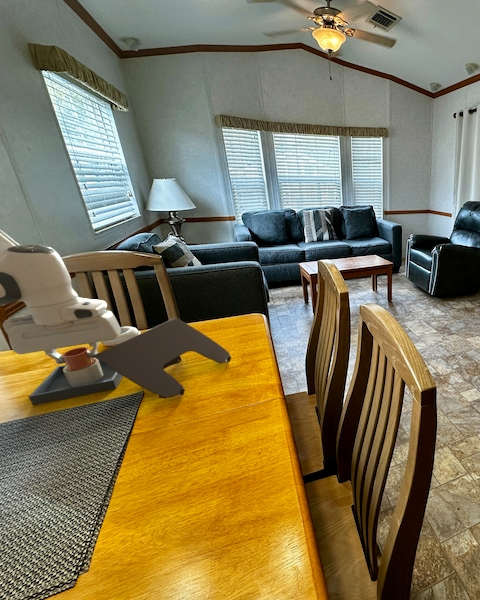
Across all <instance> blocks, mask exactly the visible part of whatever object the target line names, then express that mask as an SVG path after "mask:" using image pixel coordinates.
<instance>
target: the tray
mask: <svg viewBox="0 0 480 600" xmlns="http://www.w3.org/2000/svg"><path fill="white" fill-rule="evenodd" d="M98 361H99V360H98ZM99 363H100V366H101V368H102V371H103V373H104V375H103V377H102V378H101V379H99V380H97V381H96V382H94V383H91V384H86V385H81V386H76V387H72V386H70V384H69V383H68V380H67V378H66V376H65V374H64V372H63V369H64V368H65V367H66V364H64V365H63V364H62V365H57V366H56V367H55V368H54V369H53V370H52V372H51V373H49V375H47V377H46V378H45V379H44V380H43V381H42V382H41V383H40V384H39V385H38V386H37V387H36V388H35V389H34V390H33V391H32V392H31V393H30V394H29V396H28V399H29V401H30V403H31V404H32V406H37V405H38V406H39V405H42V404H47V403H53V402H57V401H62V400H66V399H72V398H76V397H81V396H87V395H92V394H96V393H101V392H105V391H112V390H116V389H117V388H118V386H119V385H120V384H121V381H122V379H123V378H124V376H122V375H121V374H119V373H117V372H116V371H114V370H113V369H111V368H109V367H108V366H107V365H105V364H104V363H102V362H101V361H99Z"/></svg>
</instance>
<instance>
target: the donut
mask: <svg viewBox="0 0 480 600" xmlns="http://www.w3.org/2000/svg"><path fill="white" fill-rule="evenodd" d="M120 329H121V333H120V334H119V336H118V337H117V338H116V339H114V340H108V341H102V342H100V344H102V345H103V346H106V347H113V346H115V345H117V344H119V343H121V342H124V341H126V340H128V339H130V338H132V337H135V336H137V335H139V334H140V331H139V329H137V328H136V327H133V326H120Z"/></svg>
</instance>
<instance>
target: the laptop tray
mask: <svg viewBox="0 0 480 600" xmlns="http://www.w3.org/2000/svg"><path fill="white" fill-rule="evenodd" d="M189 352H194V353H197V354H199V355H200V356H202V357H204V358H207V359H209V360H211V361H213V362H215V363H218V364H227V365H228V364H230V363H231V360H232V355H231V354H230V352H229V351H228V350H227V349H225V348H224V347H223V346H222V345H220V344H219V343H217V342H216V341H215V340H213V339H212V338H210V337H208V336H207V335H206V334H204V333H203V332H201V331H200V330H198V329H196V328H195V327H193V326H191V325H190V324H188V323H186V322H184V321H183V320H181V319H180V318H178V317H174V318H171V319H169V320H167V321H165V322H163V323H161V324H158V325H156V326H154V327H152V328H150V329H148V330H145V331H143V332H141V333H139V334H138V335H137V336H135V337H132V338H130V339H128V340H126V341H124V342H121V343H119V344H117V345H115V346H110V347H109V348H107V349H104V350H102V351H100V352H98V354H95V355H93V357H95V358H96V359H98V360H99V361H101V362H102V363H104V364H105V365H107V366H108V367H109V368H111V369H113V370H114V371H116V372H117V373H119V374H121V375H122V376H123V378H126V379H127V380H129V381H130V382H132V383H134V384H136V385H138V386H139V387H141V388H143V389H145V390H147V391H149V392H151V393H152V394H155V395H157V396H158V399H170V398H174V397H178V398H182V397H184V395H185V391H186V388H185V387H184V386H183V385H182V384H181V383H180V382H179V381H178V380H177V379H176V378H175V377H173V375H171V374H170V373H169V372H167V371H166V370H165V369H167V368H169V367H172V366H175V365H178V364H180V363H181V362H182V357H181V356H182V355H184V354H186V353H189Z"/></svg>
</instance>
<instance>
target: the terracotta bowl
mask: <svg viewBox="0 0 480 600" xmlns="http://www.w3.org/2000/svg"><path fill="white" fill-rule="evenodd" d="M89 351H90V349H89V347H87V346H79V347H75V348H72V349H68V350H67V351H65V352H64V353H62V354H61V355H62V357H63V359H64V361H65V363H64V364H65V365H66V366H67V368H68V370H79V369H83V368H85V367H88V366H90V365H91V364H93V362H94V361H93V358H91V359H90V358H89V356H88V354H87V353H88V352H89Z"/></svg>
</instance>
